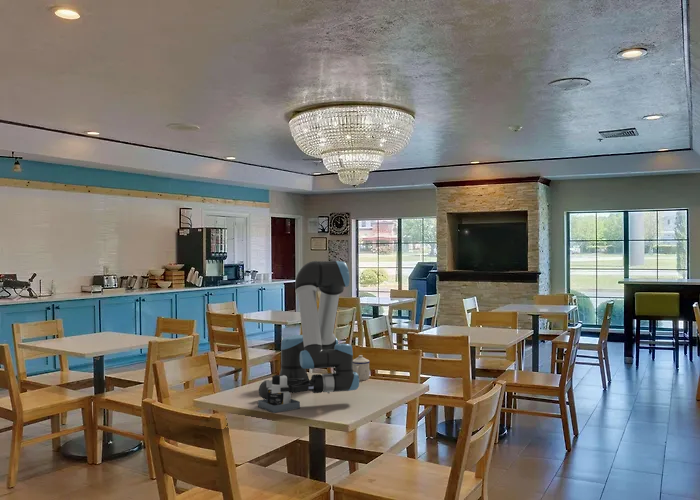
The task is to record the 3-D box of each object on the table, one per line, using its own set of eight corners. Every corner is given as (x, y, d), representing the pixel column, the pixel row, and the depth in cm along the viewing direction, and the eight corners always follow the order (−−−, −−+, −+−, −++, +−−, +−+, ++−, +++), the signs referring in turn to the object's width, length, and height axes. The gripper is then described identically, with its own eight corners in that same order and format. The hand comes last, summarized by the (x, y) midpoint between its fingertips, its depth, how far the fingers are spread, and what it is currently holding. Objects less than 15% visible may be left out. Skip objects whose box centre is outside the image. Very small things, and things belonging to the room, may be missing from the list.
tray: (258, 406, 246) (258, 400, 246) (283, 402, 254) (283, 396, 254) (273, 412, 237) (273, 406, 237) (299, 408, 244) (299, 401, 244)
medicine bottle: (267, 406, 243) (267, 376, 244) (275, 403, 250) (275, 373, 251) (283, 407, 241) (283, 377, 241) (290, 404, 247) (291, 374, 248)
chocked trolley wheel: (258, 400, 258) (258, 381, 258) (280, 396, 265) (280, 378, 265) (262, 401, 256) (262, 382, 256) (284, 397, 262) (284, 379, 262)
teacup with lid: (354, 376, 310) (354, 353, 310) (371, 377, 307) (371, 354, 308) (347, 381, 298) (347, 357, 299) (365, 382, 296) (365, 358, 296)
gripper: (329, 398, 240) (274, 402, 233) (314, 386, 262) (264, 390, 255) (329, 379, 240) (274, 383, 233) (314, 369, 262) (264, 372, 255)
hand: (269, 386), depth 244 cm, fingers open, 11 cm apart
